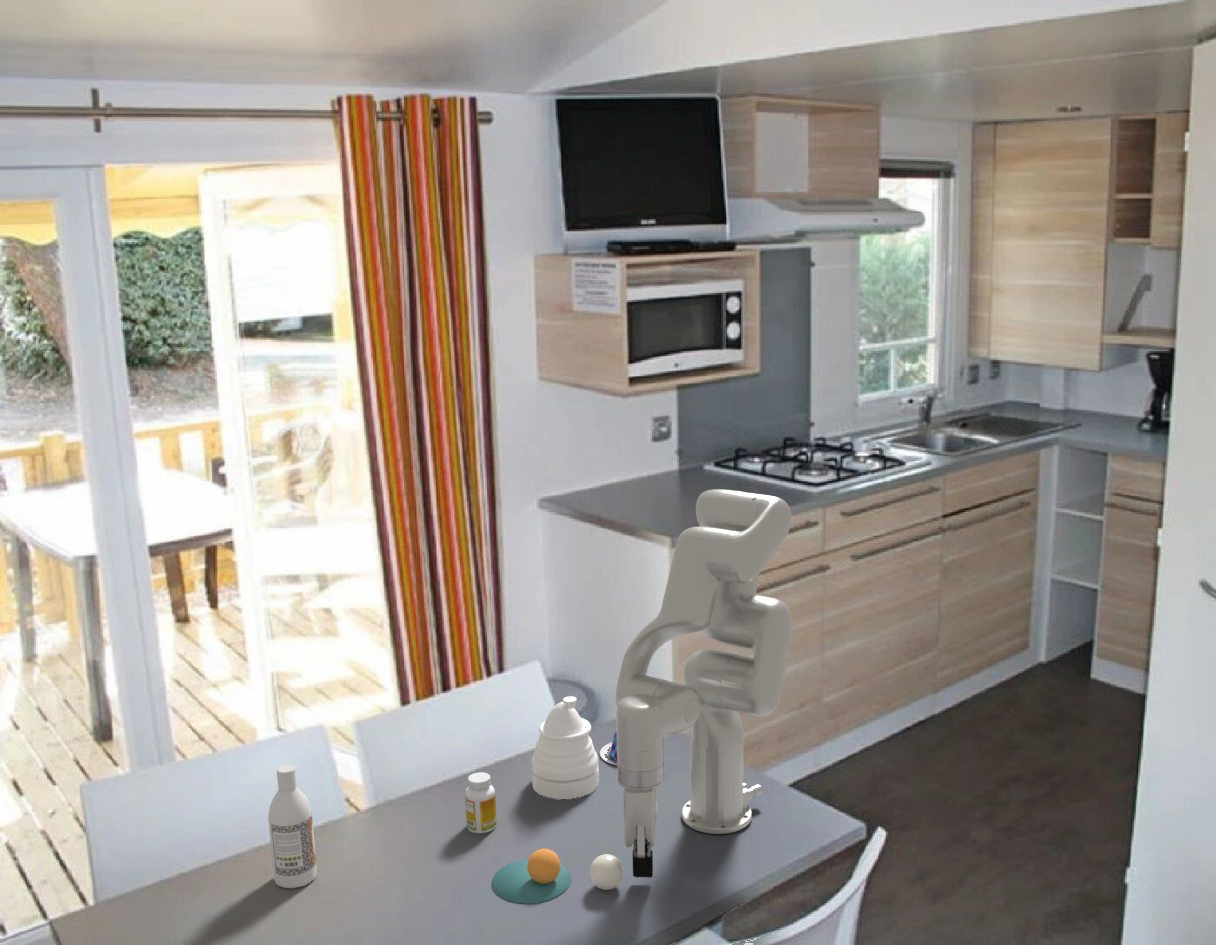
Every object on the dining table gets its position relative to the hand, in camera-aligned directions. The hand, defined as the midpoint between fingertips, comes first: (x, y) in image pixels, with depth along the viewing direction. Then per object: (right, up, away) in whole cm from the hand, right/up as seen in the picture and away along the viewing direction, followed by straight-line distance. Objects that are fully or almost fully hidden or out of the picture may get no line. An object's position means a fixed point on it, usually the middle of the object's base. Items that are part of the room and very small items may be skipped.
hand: (642, 874), depth 194 cm
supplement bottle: (-28, +2, +19) cm, 34 cm away
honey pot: (-14, +6, +34) cm, 37 cm away
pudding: (-1, +8, +46) cm, 47 cm away
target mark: (-18, -2, +2) cm, 18 cm away
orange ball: (-16, +1, +1) cm, 16 cm away
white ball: (-6, +1, -1) cm, 6 cm away
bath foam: (-58, -2, +4) cm, 58 cm away
